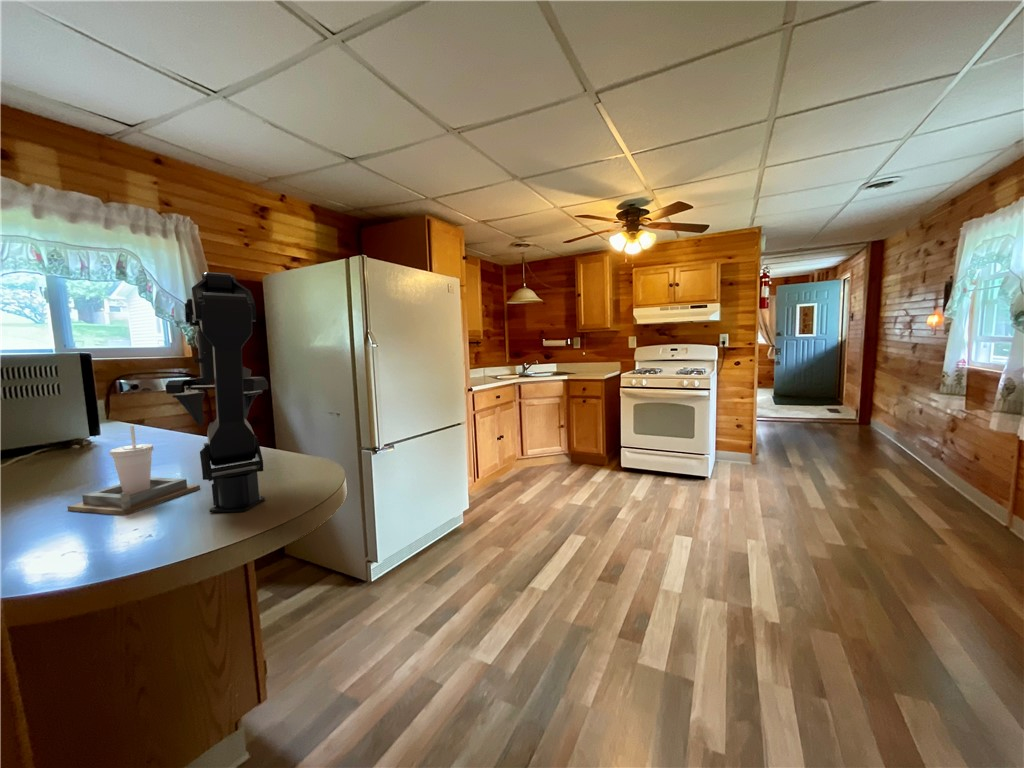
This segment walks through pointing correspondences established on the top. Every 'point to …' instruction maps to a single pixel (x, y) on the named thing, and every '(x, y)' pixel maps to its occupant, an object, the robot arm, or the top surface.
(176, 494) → the socket
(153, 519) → the top surface
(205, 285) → the robot arm
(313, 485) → the top surface
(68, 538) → the top surface
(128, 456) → the smoothie
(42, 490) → the top surface
